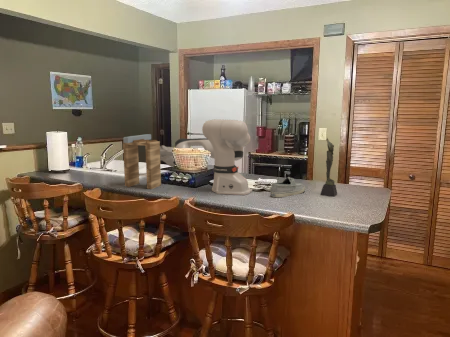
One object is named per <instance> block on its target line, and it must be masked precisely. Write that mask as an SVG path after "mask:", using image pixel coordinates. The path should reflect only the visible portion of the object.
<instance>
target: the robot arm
mask: <svg viewBox="0 0 450 337" xmlns="http://www.w3.org/2000/svg"><path fill="white" fill-rule="evenodd" d="M201 129H202V130H201V131H202V134H203V136H204V137H203V138H183V137H182V138H181V137H180V138H178V139H177V140H176V141H175V142H174V147H175V148H190V149H191V147H198V146H199V147H200V146H201V147H203V149H204V151H205V150H208V151H210V152H211V156H210V158H212V159H214V165H213V183H212V186H211V187H212V188H211V191H212V192H214V193H215V194H217V195H237V196H245V195H249V194H251V193H252V192H253V188H252V189H250V188H251V187H249V182H248V180H247V178H245V177H244V175H243V174H241V173H240V172H239V166H237V165H236V164H235V162H236V161H239V160H242V159H243V158H244V147H247V146H248V145H249V144H250V143H251V135H250V133H249V132H248V131H249V130H248V129H249V128H248V125H247V123H246V122H245V121H243V120H238V119H217V118H216V119H209V120H205V122H204V123H203V124H202V128H201ZM174 147H172V146H165V145H164V144H163V145H161V144H160V161H161V162H164V163H165V164H166V165H167V166H169V167H172V166H175V165H176V164H175V161H174V158H173V153H172V150H173V148H174ZM172 168H173V167H172Z"/></svg>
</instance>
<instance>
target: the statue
mask: <svg viewBox="0 0 450 337" xmlns="http://www.w3.org/2000/svg"><path fill="white" fill-rule="evenodd" d="M325 140H326V143H327V144H326V146H327V149H328V150H327V151H326V160H325V164H326V165H325V167H326V181H325V183H324V184H323V185H322V188H321V191H320V196H324V197H332V198H333V197H336V196H337V195H338V190H337V186H336V185H337V184H335V180H333V179H331V176H330V175H331V169H332V165H333V161H334V156H333V155H334V150H335V149H334V148H335V144H333V143H332V142H330V140H329V139H328V137H327V138H326V139H325Z"/></svg>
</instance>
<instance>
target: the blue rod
mask: <svg viewBox="0 0 450 337" xmlns="http://www.w3.org/2000/svg"><path fill="white" fill-rule="evenodd" d="M140 139H144V140H149V141H151V140H152V134H151V133H149V134H148V133H147V134H140V135H139V134H138V135H137V134H136V135H130V136H124V137H123V139H122V140H123V142H124V143H131V142H133V140H140Z"/></svg>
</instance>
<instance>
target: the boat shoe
mask: <svg viewBox="0 0 450 337" xmlns="http://www.w3.org/2000/svg"><path fill="white" fill-rule="evenodd" d="M305 191H306V186H305V185H304V184H303V183H302V182H296V181H295V178H293V177H289V176H288V177H285V178H284V179H283V181H280V182H272V183H271V187H270V197H272V198H285V197H289V196H296V195H300V194H302V193H304V192H305Z"/></svg>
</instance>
